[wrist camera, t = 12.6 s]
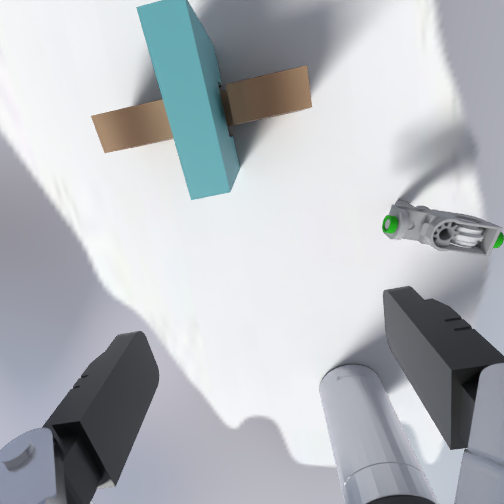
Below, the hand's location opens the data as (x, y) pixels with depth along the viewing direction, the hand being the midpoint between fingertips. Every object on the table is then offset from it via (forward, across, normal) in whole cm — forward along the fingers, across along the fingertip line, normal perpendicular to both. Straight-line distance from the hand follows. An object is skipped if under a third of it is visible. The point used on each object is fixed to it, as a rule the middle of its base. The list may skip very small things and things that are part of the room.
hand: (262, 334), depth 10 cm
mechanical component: (+28, -15, +5) cm, 32 cm away
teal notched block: (+27, +3, -9) cm, 29 cm away
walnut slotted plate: (+27, +3, -9) cm, 29 cm away
